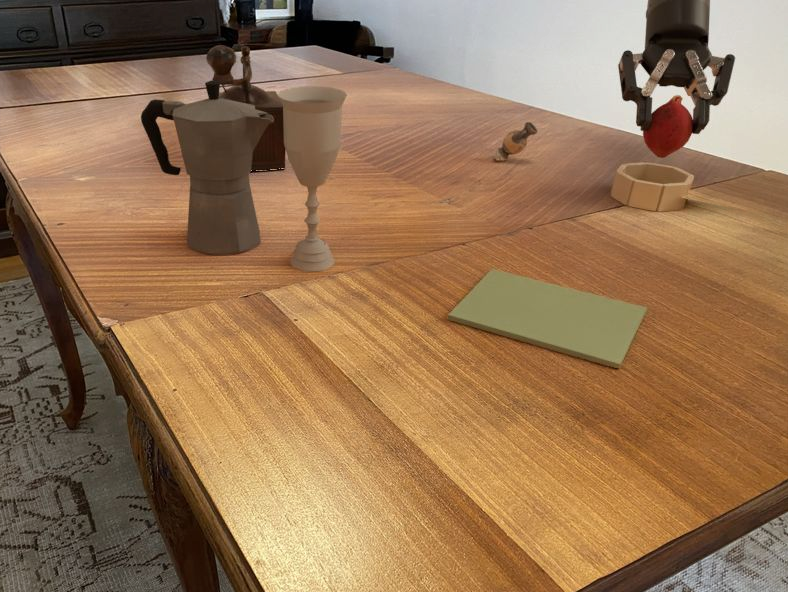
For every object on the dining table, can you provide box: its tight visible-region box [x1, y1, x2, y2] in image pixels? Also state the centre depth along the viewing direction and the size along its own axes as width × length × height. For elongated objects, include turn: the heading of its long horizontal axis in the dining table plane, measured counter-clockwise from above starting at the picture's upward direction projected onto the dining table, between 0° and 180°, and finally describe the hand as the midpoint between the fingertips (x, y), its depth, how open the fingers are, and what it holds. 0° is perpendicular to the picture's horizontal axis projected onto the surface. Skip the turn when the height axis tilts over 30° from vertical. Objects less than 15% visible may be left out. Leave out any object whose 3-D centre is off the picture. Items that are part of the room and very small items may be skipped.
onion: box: [642, 94, 693, 159], centre depth 92 cm, size 6×6×8 cm
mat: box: [447, 268, 648, 369], centre depth 69 cm, size 16×12×1 cm
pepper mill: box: [205, 44, 286, 171], centre depth 102 cm, size 16×11×18 cm
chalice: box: [277, 85, 348, 272], centre depth 74 cm, size 7×7×18 cm
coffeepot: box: [140, 79, 274, 256], centre depth 79 cm, size 15×9×18 cm, turn 75°
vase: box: [492, 121, 538, 162], centre depth 109 cm, size 5×5×6 cm
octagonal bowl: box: [610, 161, 695, 213], centre depth 96 cm, size 9×9×4 cm
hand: (671, 128), depth 90 cm, fingers closed on onion, 5 cm apart
